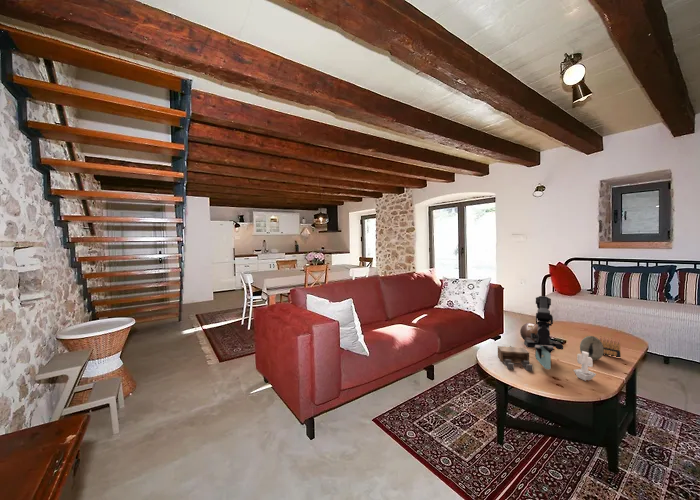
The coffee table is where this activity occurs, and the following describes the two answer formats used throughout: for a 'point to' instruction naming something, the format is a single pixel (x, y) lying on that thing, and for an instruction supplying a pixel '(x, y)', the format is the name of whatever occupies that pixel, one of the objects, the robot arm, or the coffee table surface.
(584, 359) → the figurine
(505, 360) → the brown legged block
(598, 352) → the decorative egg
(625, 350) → the coffee table surface
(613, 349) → the ammunition clip
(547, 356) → the door
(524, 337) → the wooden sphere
